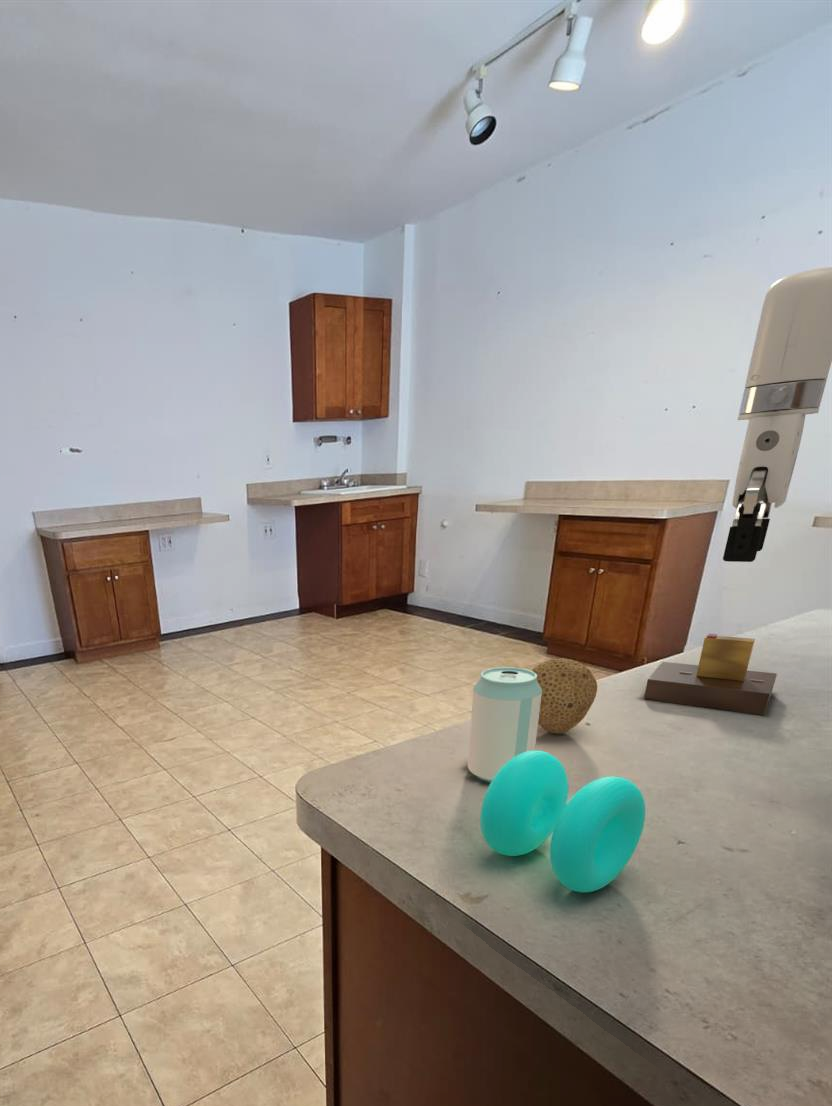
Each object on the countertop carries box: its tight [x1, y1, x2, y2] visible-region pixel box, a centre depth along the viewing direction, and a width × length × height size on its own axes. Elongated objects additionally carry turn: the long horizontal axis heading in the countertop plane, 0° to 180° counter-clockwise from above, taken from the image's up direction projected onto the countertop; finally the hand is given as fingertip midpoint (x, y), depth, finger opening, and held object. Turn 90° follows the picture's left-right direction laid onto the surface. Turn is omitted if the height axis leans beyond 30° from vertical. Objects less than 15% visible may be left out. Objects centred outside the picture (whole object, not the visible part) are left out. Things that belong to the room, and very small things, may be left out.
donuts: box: [479, 749, 646, 893], centre depth 55 cm, size 10×10×10 cm
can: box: [467, 666, 542, 783], centre depth 72 cm, size 7×7×12 cm
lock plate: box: [643, 661, 778, 716], centre depth 91 cm, size 14×10×3 cm
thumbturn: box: [696, 633, 756, 681], centre depth 88 cm, size 6×2×6 cm, turn 50°
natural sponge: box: [530, 657, 598, 735], centre depth 82 cm, size 9×9×10 cm
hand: (742, 555), depth 81 cm, fingers open, 9 cm apart
